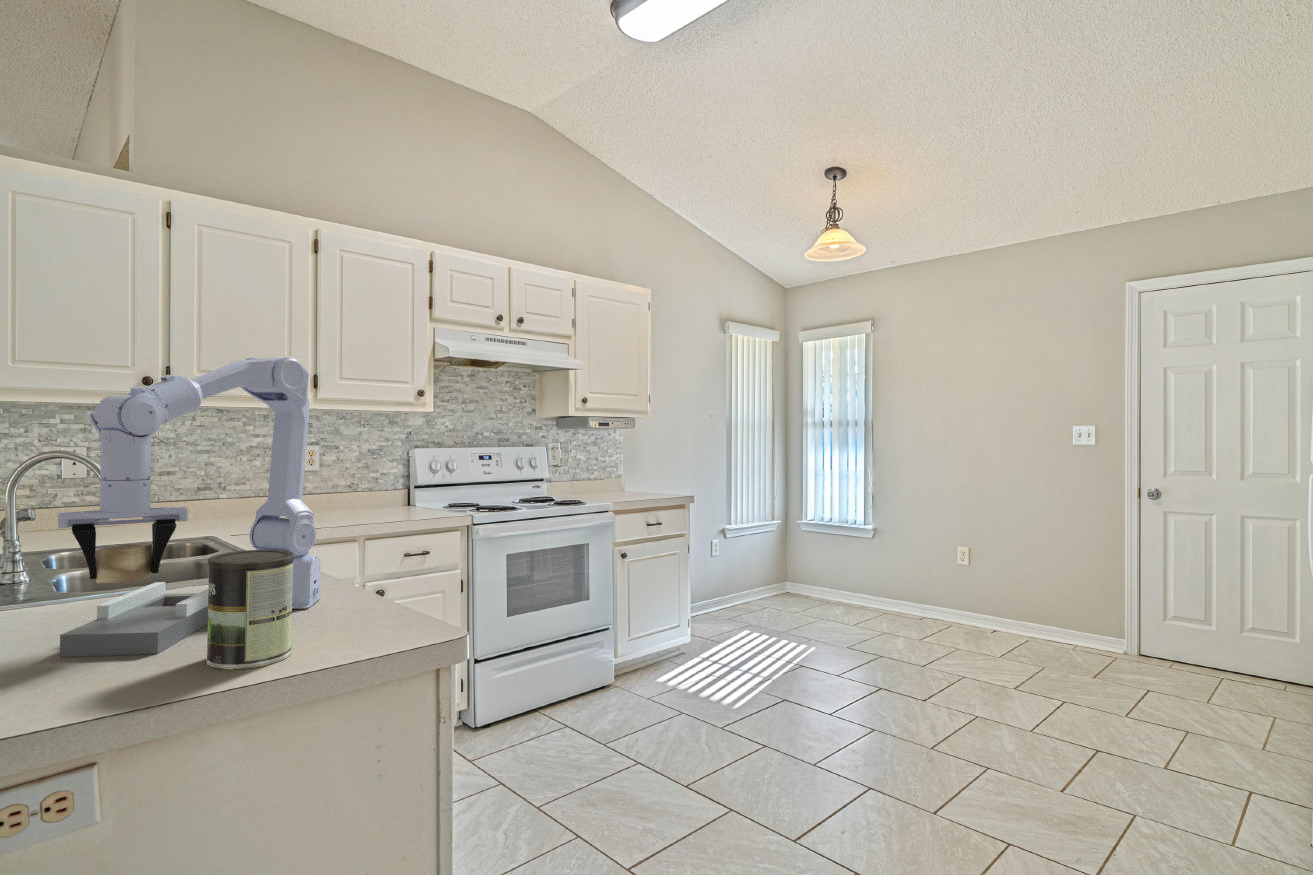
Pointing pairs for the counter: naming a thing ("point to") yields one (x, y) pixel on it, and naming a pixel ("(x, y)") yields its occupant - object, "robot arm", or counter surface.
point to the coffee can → (249, 608)
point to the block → (124, 563)
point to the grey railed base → (138, 623)
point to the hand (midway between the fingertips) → (124, 575)
